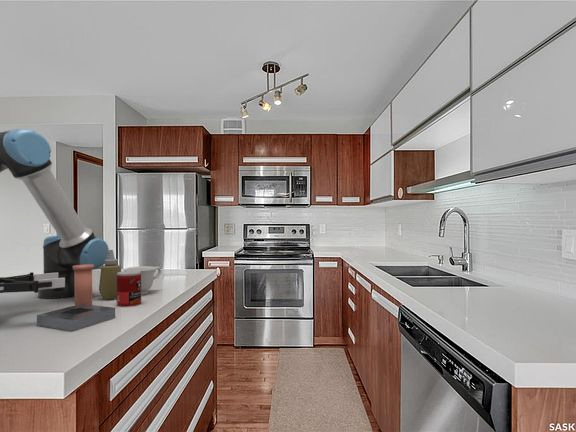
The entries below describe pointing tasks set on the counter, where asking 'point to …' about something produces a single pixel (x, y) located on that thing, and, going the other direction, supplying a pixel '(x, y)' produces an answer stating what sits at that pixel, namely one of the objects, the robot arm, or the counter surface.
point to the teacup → (145, 276)
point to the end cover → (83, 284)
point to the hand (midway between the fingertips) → (61, 279)
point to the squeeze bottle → (109, 277)
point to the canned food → (128, 288)
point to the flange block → (75, 317)
